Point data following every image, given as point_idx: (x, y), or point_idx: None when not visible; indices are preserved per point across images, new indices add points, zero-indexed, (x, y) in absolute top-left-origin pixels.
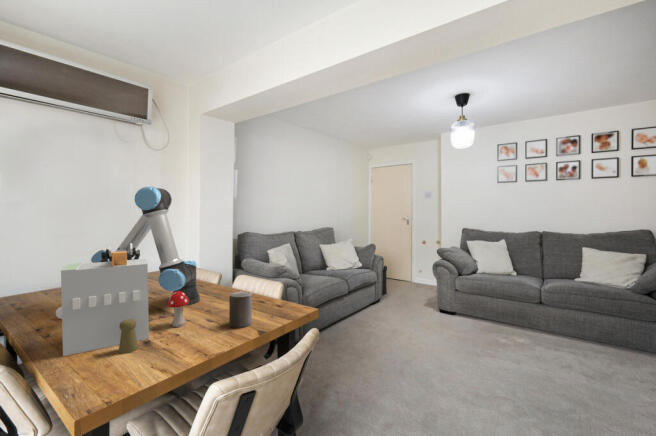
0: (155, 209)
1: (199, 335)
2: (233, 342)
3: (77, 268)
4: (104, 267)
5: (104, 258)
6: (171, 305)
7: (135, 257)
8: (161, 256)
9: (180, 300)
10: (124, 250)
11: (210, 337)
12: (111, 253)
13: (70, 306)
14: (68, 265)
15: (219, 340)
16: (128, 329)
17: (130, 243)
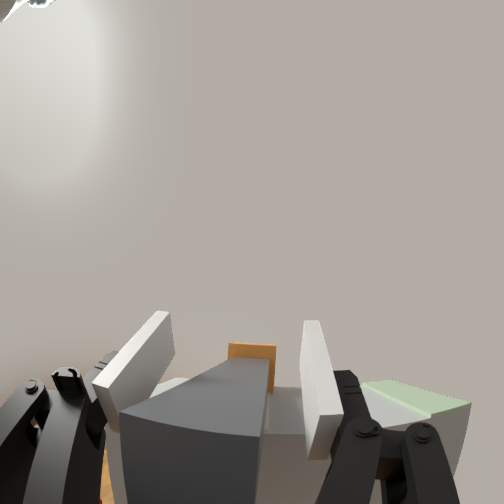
0: (15, 9)
1: (107, 491)
2: (104, 455)
3: (371, 390)
4: (293, 387)
5: (388, 497)
6: (101, 500)
7: (8, 499)
8: None
9: None
10: (195, 383)
11: (105, 477)
12: (309, 430)
13: None
14: (438, 396)
15: (107, 466)
16: None
17: (168, 313)
